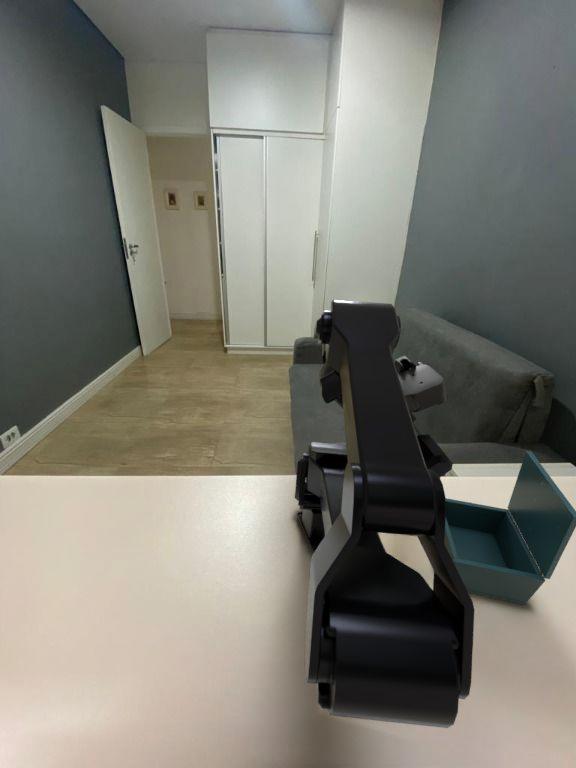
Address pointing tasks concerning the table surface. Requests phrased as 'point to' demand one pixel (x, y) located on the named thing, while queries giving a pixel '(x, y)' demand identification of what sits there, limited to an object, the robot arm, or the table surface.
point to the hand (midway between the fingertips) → (419, 455)
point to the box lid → (541, 514)
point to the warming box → (490, 552)
